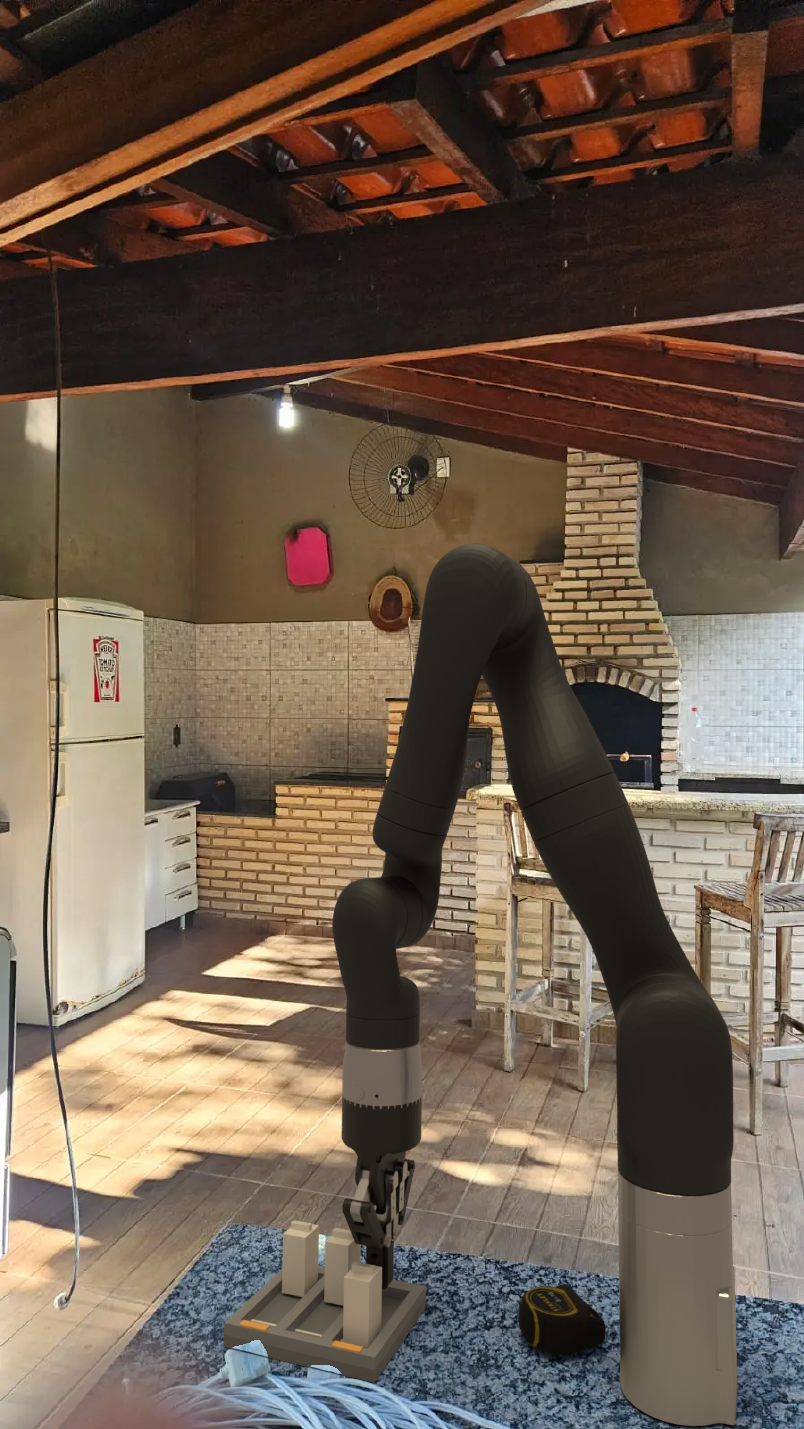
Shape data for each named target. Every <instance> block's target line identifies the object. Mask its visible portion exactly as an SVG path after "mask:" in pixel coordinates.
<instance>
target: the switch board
mask: <svg viewBox="0 0 804 1429" xmlns="http://www.w3.org/2000/svg"><path fill="white" fill-rule="evenodd" d="M324 1287H325V1265H322V1264H321V1265H320V1264H318V1282H317V1283H316V1284H315V1285H314V1286H313V1287H312V1288H311V1289H310V1290H309V1291H308V1292H307V1293H306V1294H305V1295H304V1297H300V1296H295V1295H291V1294H286V1293H282V1268H281V1269H280V1270H279V1271H278V1272H277V1273H276V1274H274V1275H273V1277H271V1278H270V1280H268V1281H267V1282H266V1283H265V1284H264V1285H263V1286H261V1288H260V1289H259V1290H257V1291H256V1292H255V1294H253V1295H252V1296H251V1297H250V1298H249V1299H248V1300H247V1301H246V1302H244V1304H243V1305H242V1306H241V1307H239V1308H238V1309H237V1310H236V1311H235V1312H234V1313H233V1314H232V1315H231V1316H230V1317H229V1318H228V1319H227V1320H226V1321H225V1322H224V1324H223V1325H224V1326H223V1347H224V1348H227V1349H231V1348H232V1347H234V1346H239V1345H243V1344H246V1343H250V1342H251V1341H254V1340H260V1341H261V1343H262V1344H263V1346H264V1348H265V1349H266V1351H267V1354H268V1357H267V1358H269V1359H274V1360H278V1361H281V1362H286V1363H289V1364H293V1365H294V1364H295V1365H298V1366H302V1367H306V1368H307V1367H308V1368H310V1366H311V1365H330V1366H333V1367H335V1368H337V1369H338V1370H339V1371H340V1372H341V1373H342V1374H341V1375H340V1376H344V1377H347V1378H348V1377H349V1378H353V1379H357V1380H360V1381H365V1382H369V1383H373V1384H375V1383H376V1382H377V1381H378V1378H379V1377H380V1375H382V1373H383V1371H384V1370H385V1368H386V1367H387V1365H388V1364H389V1362H391V1360H392V1358H393V1357H394V1355H395V1354H396V1352H397V1351H398V1349H399V1348H400V1346H401V1345H402V1344H403V1342H404V1340H405V1339H406V1338H407V1336H408V1334H409V1333H410V1332H411V1331H412V1329H413V1327H414V1326H415V1324H416V1323H417V1321H418V1320H419V1319H420V1317H421V1316H422V1315H423V1312H424V1311H425V1310H426V1308H427V1285H423V1284H418V1283H412V1282H407V1281H403V1280H397V1279H393V1280H392V1282H391V1283H390V1284H389V1285H388V1287H387V1288H386V1289H382V1310H381V1332H380V1333H379V1334H378V1336H377V1337H376V1338H375V1340H374V1341H373V1342H372V1344H371V1345H370V1347H369V1348H365V1347H362V1346H358V1345H353V1344H349V1343H344V1342H343V1310H344V1306H343V1305H338V1304H333V1303H329V1302H324Z"/></svg>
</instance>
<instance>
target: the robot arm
mask: <svg viewBox="0 0 804 1429" xmlns="http://www.w3.org/2000/svg"><path fill="white" fill-rule="evenodd" d="M425 587H426V589H425V592H424V600H423V605H422V606H423V607H422V613H421V620H420V628H419V634H418V641H417V642H418V643H417V649H416V650H417V651H416V657H415V663H414V667H413V673H412V679H411V684H410V688H409V689H410V690H409V696H408V700H407V705H406V709H405V714H404V718H403V723H402V726H401V731H400V734H399V738H398V742H397V745H396V748H395V749H396V750H395V753H394V756H393V759H392V763H391V766H390V769H389V771H388V772H389V773H388V776H387V779H386V782H385V785H384V788H383V792H382V794H381V799H380V801H379V805H378V808H377V812H376V815H375V819H374V821H373V826H372V834H371V835H372V840H373V842H374V844H375V846H377V847H378V849H380V850H381V851H382V852H384V853H385V855H384V865H383V868H382V869H383V870H382V873H381V876H377V877H376V876H375V877H366V878H365V877H364V878H359V879H356V880H354V881H351V882H349V883H348V884H347V885H346V886H344V888H343V889H342V890H341V892H340V894H339V896H338V898H337V900H336V901H335V902H336V903H335V905H334V909H333V914H332V921H331V922H332V926H331V927H332V938H333V943H334V948H335V952H336V958H337V963H338V967H339V970H340V971H339V972H340V976H341V980H342V984H343V987H344V990H345V995H346V1007H345V1008H346V1009H345V1011H346V1013H345V1015H346V1016H345V1048H344V1056H343V1062H342V1085H341V1087H342V1089H341V1090H342V1091H341V1141H342V1143H343V1144H344V1145H345V1146H346V1147H347V1148H348V1149H350V1150H352V1151H353V1152H355V1154H356V1156H357V1159H356V1166H355V1168H354V1171H353V1185H354V1186H355V1189H356V1191H355V1194H354V1196H353V1198H348V1197H346V1198H344V1200H343V1202H342V1207H341V1208H342V1213H343V1216H344V1218H345V1221H346V1223H347V1226H348V1228H349V1230H350V1231H351V1233H352V1236H353V1238H354V1241H355V1243H356V1244H359V1245H361V1246H365V1264H369V1265H375V1266H379V1267H382V1289H386V1288H387V1287H388V1285H389V1284H390V1283H391V1282H392V1280H394V1268H395V1267H394V1264H395V1262H394V1261H395V1260H394V1258H395V1256H394V1253H395V1250H394V1248H395V1247H394V1246H395V1243H394V1242H395V1240H396V1239H397V1237H398V1234H399V1230H398V1229H399V1226H402V1225H403V1224H404V1221H405V1217H406V1212H407V1207H408V1201H409V1196H410V1192H411V1187H412V1183H413V1182H412V1181H413V1177H414V1173H415V1169H416V1162H415V1161H416V1160H414V1159H408V1158H406V1152H408V1151H409V1152H410V1151H411V1150H413V1149H415V1148H416V1147H417V1146H418V1145H419V1144H420V1142H421V1140H422V1121H423V1120H422V1113H423V1112H422V1109H423V1108H422V1105H423V1104H422V1102H423V1100H422V1099H423V1098H422V1097H423V1096H422V1095H423V1094H422V1093H423V1091H422V1089H423V1087H422V1086H423V1083H422V1082H423V1069H422V1068H423V1066H422V1065H423V1064H422V1057H421V1056H422V1054H421V1047H420V1046H421V1044H420V1023H421V1022H420V1015H421V1014H420V1012H421V1011H420V1010H421V1002H420V1001H421V1000H420V993H419V992H420V991H419V989H418V986H417V984H416V983H415V982H414V980H412V979H410V978H408V977H407V976H402V975H401V972H400V968H399V962H398V956H397V950H399V949H404V948H409V947H412V946H414V945H415V944H417V943H418V942H420V941H421V940H422V939H423V938H424V937H425V936H426V934H427V933H428V931H429V930H430V928H431V926H432V924H433V922H434V920H435V917H436V914H437V911H438V906H439V899H440V892H441V879H442V871H443V870H442V869H443V864H442V863H443V848H444V844H445V842H446V840H447V836H448V833H449V830H450V827H451V824H452V820H453V817H454V815H455V814H454V813H455V810H456V807H457V803H458V800H459V796H460V792H461V789H462V787H463V786H462V785H463V780H464V774H465V768H466V763H467V752H468V751H467V750H468V742H469V729H470V722H471V714H472V709H473V705H474V702H475V696H476V694H477V690H478V688H479V687H478V686H479V684H480V681H481V677H482V678H483V680H484V682H485V685H486V687H487V688H488V690H489V693H490V696H491V698H492V699H493V702H494V706H495V708H496V711H497V713H498V719H499V722H500V727H501V732H502V734H501V735H502V739H503V747H504V752H505V753H504V754H505V760H506V766H507V771H508V776H509V781H510V784H511V787H512V791H513V794H514V795H513V796H514V798H515V799H516V803H517V806H518V809H519V811H520V814H521V815H522V818H523V821H524V824H525V825H526V827H527V830H528V832H529V833H528V834H530V838H531V840H532V842H533V845H534V847H535V848H536V851H537V853H538V855H539V857H540V859H541V861H542V863H543V866H544V867H545V869H546V870H547V872H548V874H549V876H550V878H551V880H552V882H553V883H554V885H555V886H556V887H555V888H557V890H558V891H559V894H560V895H561V897H562V898H563V900H564V901H565V903H566V905H567V906H568V908H569V910H570V911H571V913H572V914H573V915H574V917H575V919H576V920H577V922H578V924H579V925H580V927H581V928H582V931H583V932H584V935H585V936H586V938H587V940H588V942H589V944H590V947H591V949H592V952H593V954H594V957H595V959H596V962H597V966H598V969H599V971H600V974H601V978H602V980H603V983H604V986H605V989H606V992H607V995H608V998H609V1003H610V1006H611V1010H612V1012H613V1017H614V1022H615V1028H616V1030H615V1032H616V1033H615V1034H616V1036H615V1038H616V1039H615V1053H616V1054H615V1064H616V1066H615V1067H616V1068H615V1070H616V1073H615V1074H616V1146H617V1147H616V1148H617V1150H616V1151H617V1201H618V1202H617V1207H618V1208H617V1211H618V1212H617V1214H618V1215H617V1219H618V1220H617V1221H618V1222H617V1223H618V1226H617V1227H618V1232H617V1234H618V1291H619V1292H618V1295H619V1296H618V1299H619V1300H618V1301H619V1302H618V1304H619V1305H618V1307H619V1308H618V1310H619V1311H618V1313H619V1314H618V1316H619V1317H618V1318H619V1319H618V1320H619V1322H618V1324H619V1375H620V1376H619V1377H620V1378H619V1379H620V1381H619V1382H620V1383H619V1384H620V1388H621V1391H622V1394H623V1395H624V1396H625V1398H626V1399H627V1400H628V1401H629V1402H630V1403H631V1404H632V1405H633V1406H634V1407H635V1408H637V1409H638V1410H640V1411H641V1412H643V1413H644V1414H647V1415H648V1416H651V1417H653V1418H655V1419H658V1420H660V1421H662V1422H663V1421H664V1422H666V1423H670V1424H674V1425H680V1426H688V1427H689V1426H690V1427H696V1426H697V1427H699V1426H700V1427H702V1426H705V1427H706V1426H709V1425H715V1424H726V1425H730V1426H735V1425H736V1417H737V1400H738V1399H737V1396H738V1395H737V1394H738V1366H737V1365H738V1359H737V1358H738V1357H737V1322H736V1321H737V1318H736V1315H737V1311H736V1310H737V1308H736V1279H735V1278H736V1274H735V1272H736V1271H735V1267H734V1254H733V1253H734V1249H733V1246H734V1245H733V1244H734V1243H733V1210H732V1209H733V1208H732V1158H733V1152H734V1144H735V1143H734V1139H735V1138H734V1135H735V1133H734V1065H733V1064H734V1062H733V1047H732V1046H733V1045H732V1040H731V1039H732V1038H731V1033H730V1029H729V1028H728V1024H727V1022H726V1021H725V1019H724V1017H723V1015H722V1013H721V1011H720V1009H719V1007H718V1005H717V1004H716V1002H715V1000H714V999H713V998H712V996H711V995H710V993H709V992H708V990H707V989H706V988H705V986H704V984H703V983H702V981H701V979H700V977H699V976H698V974H697V973H696V971H695V969H694V967H693V966H692V964H691V962H690V961H689V958H688V957H687V955H686V953H685V952H684V949H683V948H682V946H681V944H680V942H679V940H678V938H677V936H676V935H675V933H674V931H673V928H672V926H671V925H670V923H669V920H668V918H667V916H666V913H665V912H664V911H665V910H664V909H663V906H662V904H661V899H660V897H659V895H658V890H657V887H656V883H655V878H654V876H653V873H652V868H651V864H650V862H649V858H648V854H647V851H646V849H645V845H644V842H643V839H642V835H641V833H640V829H639V828H638V827H639V826H638V824H637V822H636V819H635V816H634V814H633V810H632V808H631V806H630V804H629V801H628V799H627V798H626V795H625V793H624V790H623V788H622V785H621V784H620V781H619V778H618V777H617V775H616V773H615V770H614V768H613V766H612V764H611V761H610V760H609V758H608V756H607V754H606V752H605V750H604V748H603V745H602V743H601V741H600V739H599V737H598V736H597V734H596V732H595V729H594V728H593V726H592V723H591V721H590V720H589V718H588V716H587V714H586V712H585V710H584V709H583V706H582V705H581V703H580V701H579V699H578V697H577V695H576V694H575V692H574V691H573V689H572V686H571V685H570V683H569V681H568V679H567V676H566V674H565V671H564V670H563V666H562V664H561V661H560V658H559V656H558V651H557V649H556V647H555V643H554V641H553V637H552V634H551V632H550V628H549V625H548V620H547V619H546V615H545V612H544V609H543V605H542V602H541V598H540V596H539V592H538V590H537V589H538V588H537V586H536V584H535V583H534V581H533V578H532V577H531V575H530V574H529V572H528V571H527V570H526V569H525V568H524V566H522V565H521V564H520V563H518V561H515V560H514V559H513V558H511V557H510V556H509V555H507V554H506V553H505V552H502V551H501V550H500V549H498V548H495V547H493V546H491V545H489V544H488V545H487V544H482V543H476V542H474V543H464V544H462V545H459V546H456V547H454V548H453V549H451V550H449V551H448V552H446V553H445V554H444V555H443V556H442V557H441V558H440V559H438V561H437V562H436V564H434V567H433V569H432V571H431V573H430V574H429V577H428V580H427V584H426V586H425Z"/></svg>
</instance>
